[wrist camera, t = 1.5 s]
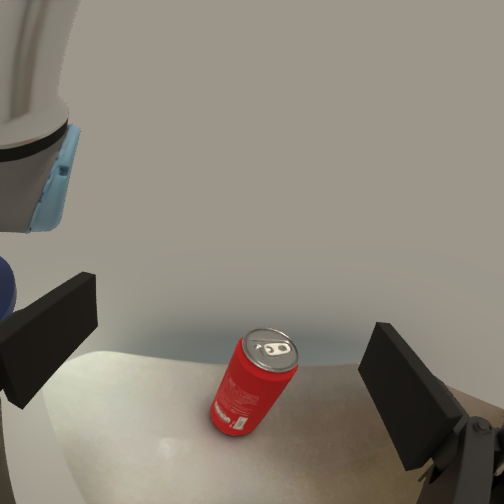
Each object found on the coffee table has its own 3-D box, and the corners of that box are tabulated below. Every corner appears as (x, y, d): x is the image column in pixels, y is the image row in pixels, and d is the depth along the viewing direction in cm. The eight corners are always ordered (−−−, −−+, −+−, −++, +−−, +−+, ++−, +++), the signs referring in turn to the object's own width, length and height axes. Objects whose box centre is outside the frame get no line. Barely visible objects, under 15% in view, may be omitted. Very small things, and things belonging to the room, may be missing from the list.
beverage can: (202, 401, 27) (230, 326, 22) (246, 396, 30) (285, 324, 24) (216, 442, 23) (253, 378, 18) (262, 434, 26) (313, 368, 20)
